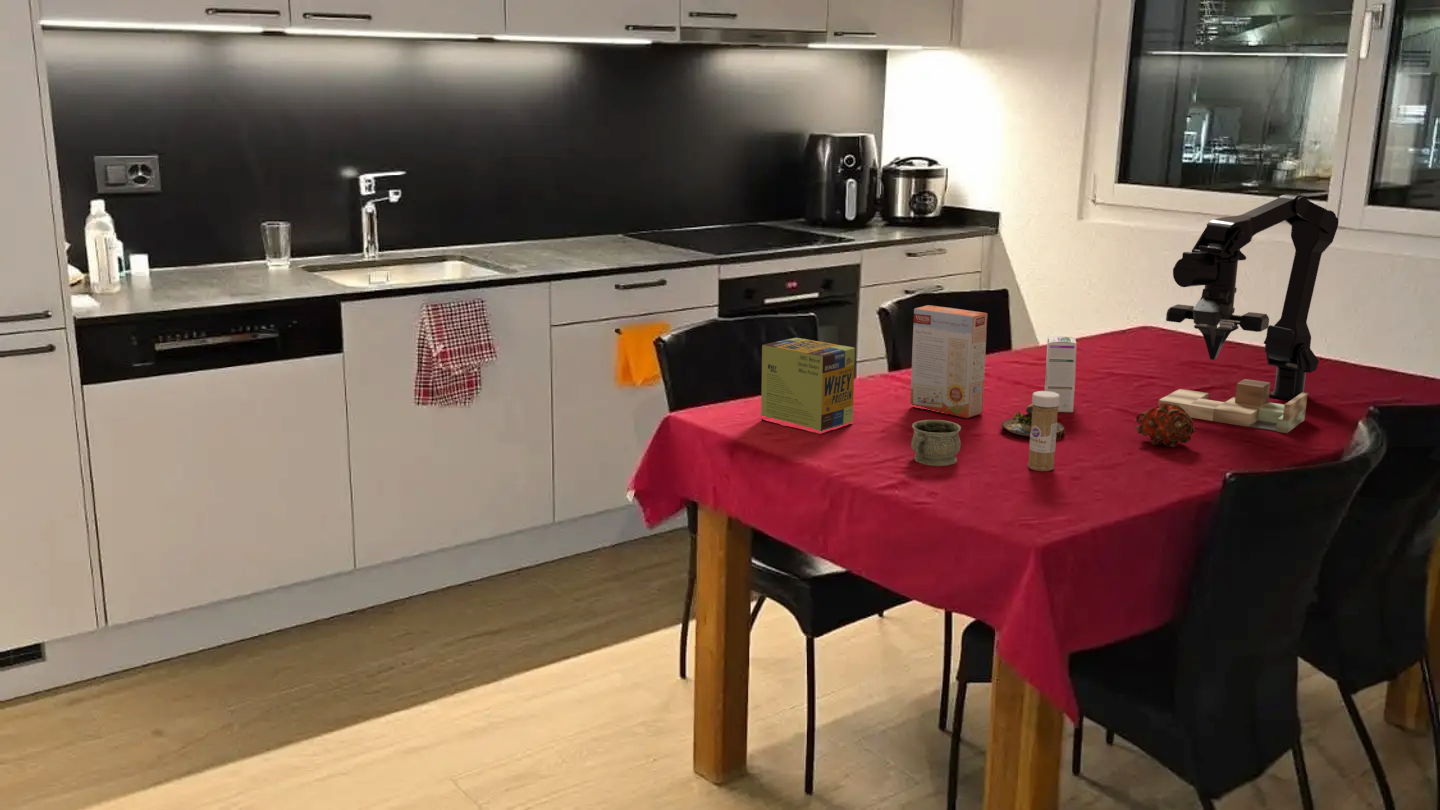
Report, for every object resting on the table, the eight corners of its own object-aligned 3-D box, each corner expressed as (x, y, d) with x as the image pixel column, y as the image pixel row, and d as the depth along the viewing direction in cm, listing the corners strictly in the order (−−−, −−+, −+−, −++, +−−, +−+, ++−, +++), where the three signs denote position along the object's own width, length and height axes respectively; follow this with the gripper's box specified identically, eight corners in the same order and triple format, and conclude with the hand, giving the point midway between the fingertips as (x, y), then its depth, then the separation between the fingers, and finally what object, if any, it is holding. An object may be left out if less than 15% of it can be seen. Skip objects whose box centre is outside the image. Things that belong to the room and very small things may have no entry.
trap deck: (1178, 400, 269) (1181, 374, 268) (1304, 420, 254) (1307, 393, 253) (1157, 411, 260) (1160, 385, 259) (1286, 433, 245) (1290, 405, 244)
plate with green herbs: (989, 429, 249) (991, 391, 247) (1040, 423, 253) (1042, 386, 251) (1025, 445, 238) (1027, 406, 236) (1077, 439, 242) (1080, 400, 240)
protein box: (821, 435, 244) (823, 355, 240) (760, 420, 254) (760, 344, 250) (854, 424, 251) (856, 347, 247) (793, 410, 261) (794, 336, 257)
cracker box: (983, 414, 258) (989, 312, 253) (967, 420, 254) (972, 316, 249) (925, 402, 268) (929, 303, 262) (908, 407, 263) (912, 307, 258)
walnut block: (1242, 397, 261) (1244, 378, 260) (1268, 401, 258) (1270, 382, 257) (1234, 402, 257) (1236, 383, 256) (1260, 406, 254) (1262, 387, 253)
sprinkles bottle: (1023, 468, 223) (1027, 393, 220) (1035, 462, 227) (1040, 388, 223) (1047, 473, 220) (1052, 398, 217) (1059, 467, 224) (1064, 393, 220)
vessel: (935, 448, 236) (936, 415, 234) (975, 458, 230) (977, 424, 228) (894, 461, 227) (895, 427, 226) (935, 472, 221) (936, 437, 220)
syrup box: (1073, 412, 259) (1078, 342, 256) (1043, 411, 261) (1048, 341, 257) (1071, 405, 265) (1076, 336, 261) (1042, 404, 266) (1047, 335, 262)
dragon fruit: (1189, 461, 232) (1136, 455, 243) (1213, 429, 235) (1159, 423, 245) (1170, 428, 229) (1117, 423, 239) (1194, 395, 232) (1141, 391, 242)
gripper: (1159, 284, 256) (1153, 360, 260) (1256, 293, 244) (1247, 373, 248) (1179, 276, 264) (1172, 351, 268) (1273, 286, 253) (1265, 363, 257)
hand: (1212, 359), depth 260 cm, fingers closed
